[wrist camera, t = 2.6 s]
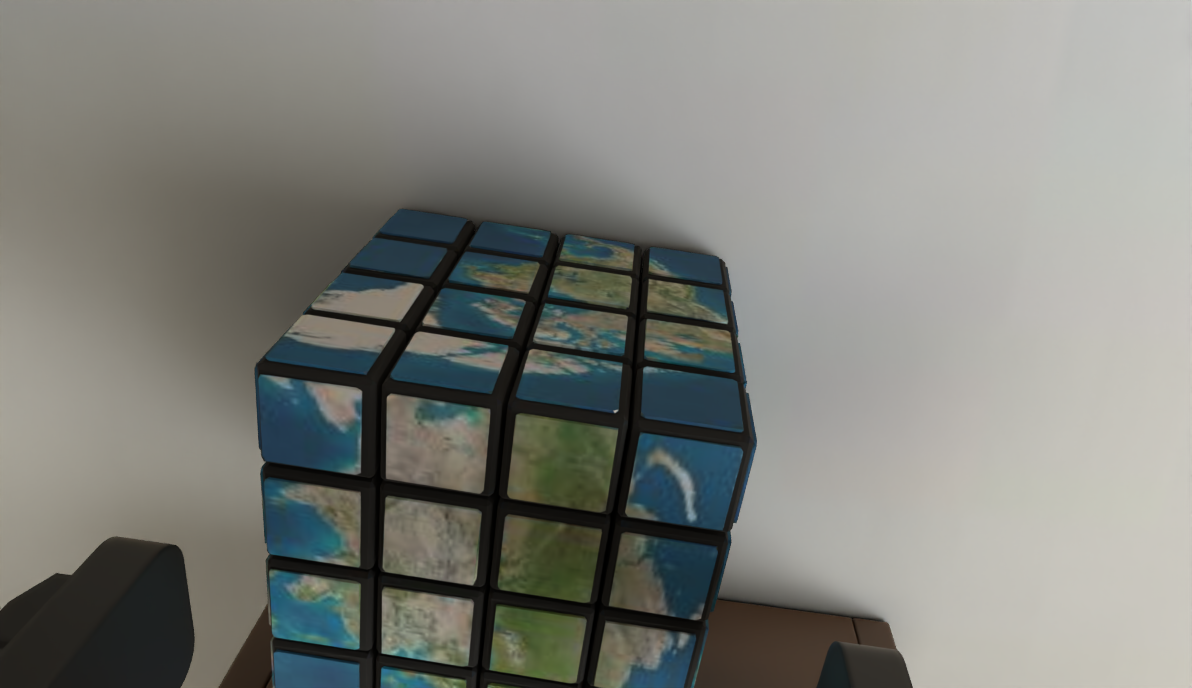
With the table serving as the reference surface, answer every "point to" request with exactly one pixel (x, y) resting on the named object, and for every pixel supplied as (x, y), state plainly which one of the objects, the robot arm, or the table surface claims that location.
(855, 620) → the wooden step riser
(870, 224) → the table surface
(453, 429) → the puzzle
